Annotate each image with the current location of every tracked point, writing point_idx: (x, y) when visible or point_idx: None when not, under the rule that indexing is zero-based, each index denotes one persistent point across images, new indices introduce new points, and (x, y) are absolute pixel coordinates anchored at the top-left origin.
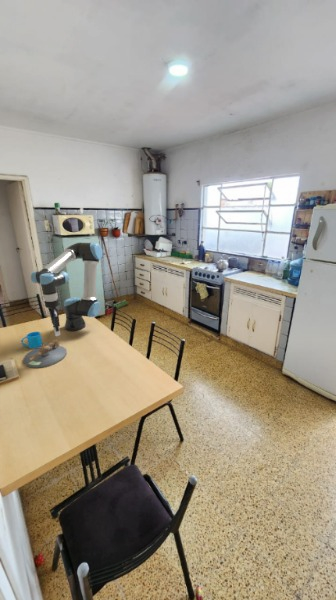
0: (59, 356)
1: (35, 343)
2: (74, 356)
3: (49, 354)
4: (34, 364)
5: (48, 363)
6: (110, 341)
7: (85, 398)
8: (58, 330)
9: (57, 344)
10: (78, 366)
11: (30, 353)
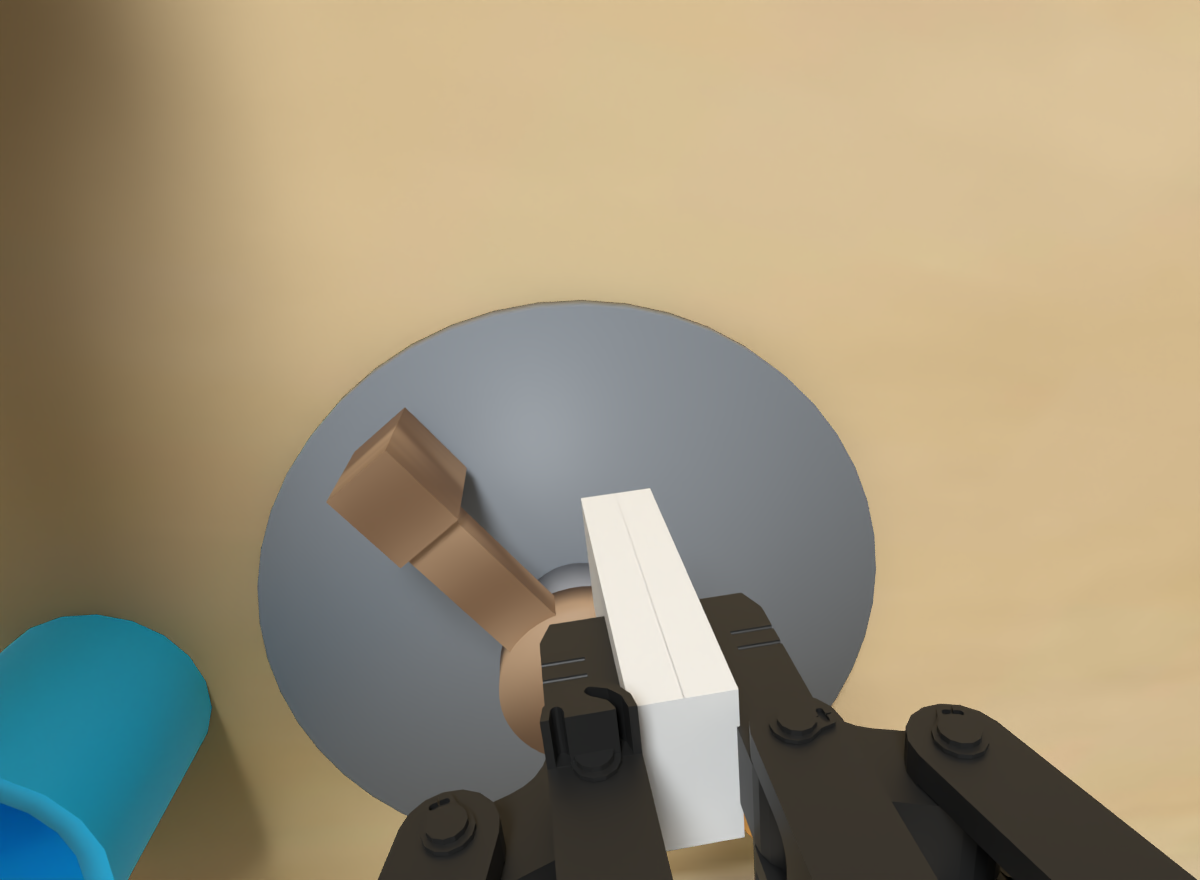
0: (754, 439)
1: (175, 753)
2: (837, 209)
3: None
4: None
5: (853, 595)
6: None
7: None
8: (762, 620)
9: (418, 440)
10: (1155, 223)
11: (419, 781)
